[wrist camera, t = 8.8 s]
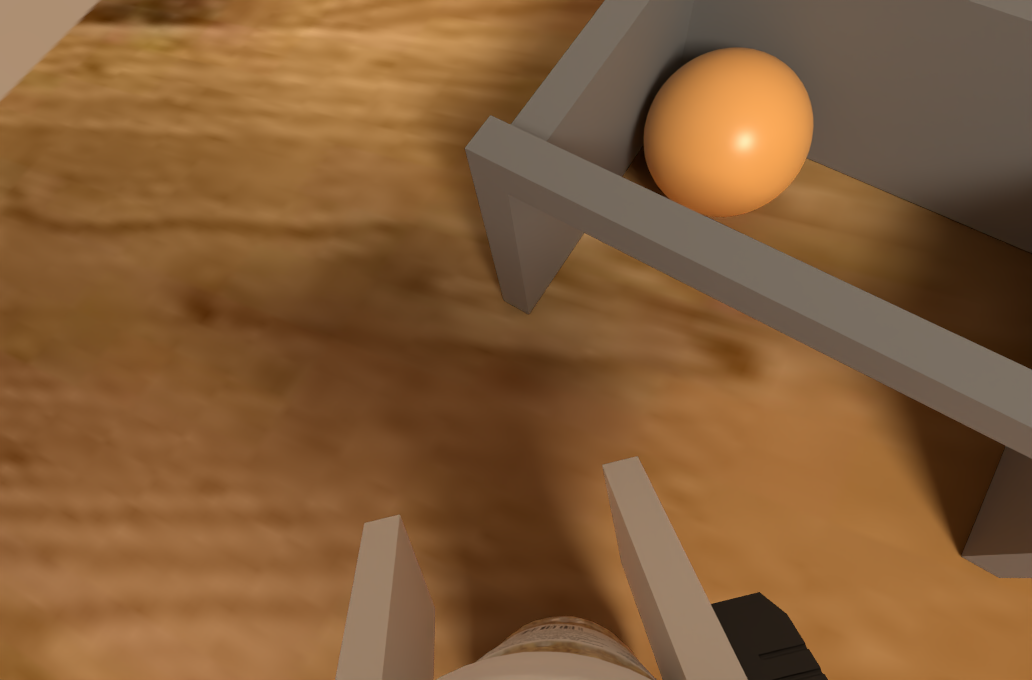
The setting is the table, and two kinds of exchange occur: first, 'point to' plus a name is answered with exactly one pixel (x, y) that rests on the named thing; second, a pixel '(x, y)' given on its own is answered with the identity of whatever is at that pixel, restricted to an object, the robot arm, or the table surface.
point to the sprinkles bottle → (557, 654)
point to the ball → (728, 132)
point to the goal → (835, 143)
